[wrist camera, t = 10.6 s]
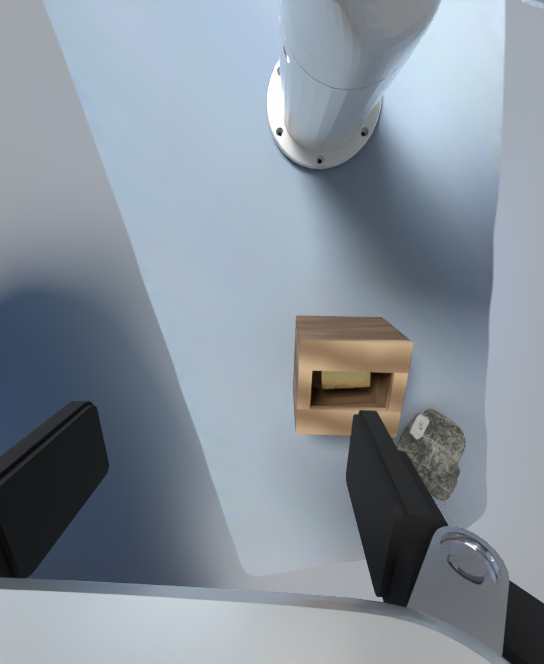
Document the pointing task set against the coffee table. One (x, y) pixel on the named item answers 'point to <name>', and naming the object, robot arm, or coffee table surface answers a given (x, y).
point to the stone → (434, 451)
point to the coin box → (351, 356)
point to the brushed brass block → (343, 379)
